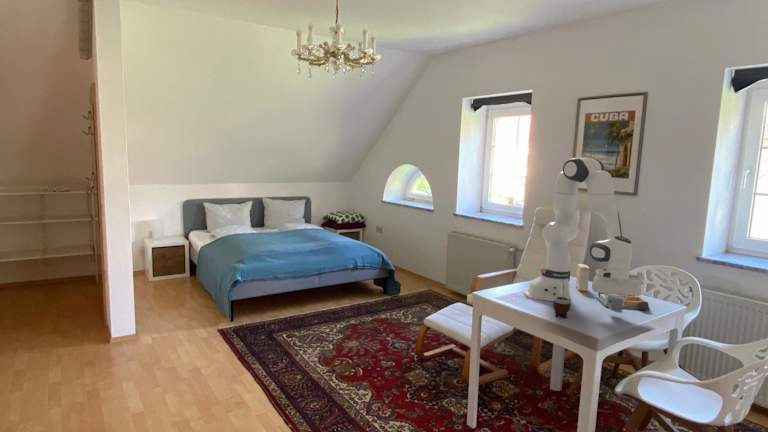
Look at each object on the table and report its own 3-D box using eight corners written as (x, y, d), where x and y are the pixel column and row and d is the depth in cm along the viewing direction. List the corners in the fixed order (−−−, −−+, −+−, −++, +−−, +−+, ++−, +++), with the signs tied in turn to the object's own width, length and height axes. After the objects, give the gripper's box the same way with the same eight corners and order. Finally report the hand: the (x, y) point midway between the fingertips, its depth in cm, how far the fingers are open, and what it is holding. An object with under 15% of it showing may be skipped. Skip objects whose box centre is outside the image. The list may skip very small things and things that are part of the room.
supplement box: (588, 291, 246) (590, 267, 244) (578, 290, 247) (580, 267, 245) (584, 287, 254) (586, 264, 252) (575, 286, 255) (577, 263, 253)
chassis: (606, 308, 219) (607, 299, 218) (595, 298, 235) (595, 289, 234) (651, 311, 216) (652, 302, 216) (636, 300, 232) (637, 292, 232)
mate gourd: (560, 319, 201) (563, 285, 199) (547, 313, 208) (550, 281, 206) (573, 317, 204) (576, 284, 202) (560, 311, 211) (563, 280, 209)
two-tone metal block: (611, 309, 205) (612, 296, 204) (606, 305, 211) (608, 292, 210) (621, 310, 205) (623, 297, 204) (616, 306, 210) (618, 293, 210)
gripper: (640, 273, 207) (636, 303, 209) (592, 269, 210) (589, 298, 212) (646, 277, 201) (642, 307, 203) (597, 273, 204) (593, 303, 206)
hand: (614, 303), depth 207 cm, fingers closed on two-tone metal block, 4 cm apart
